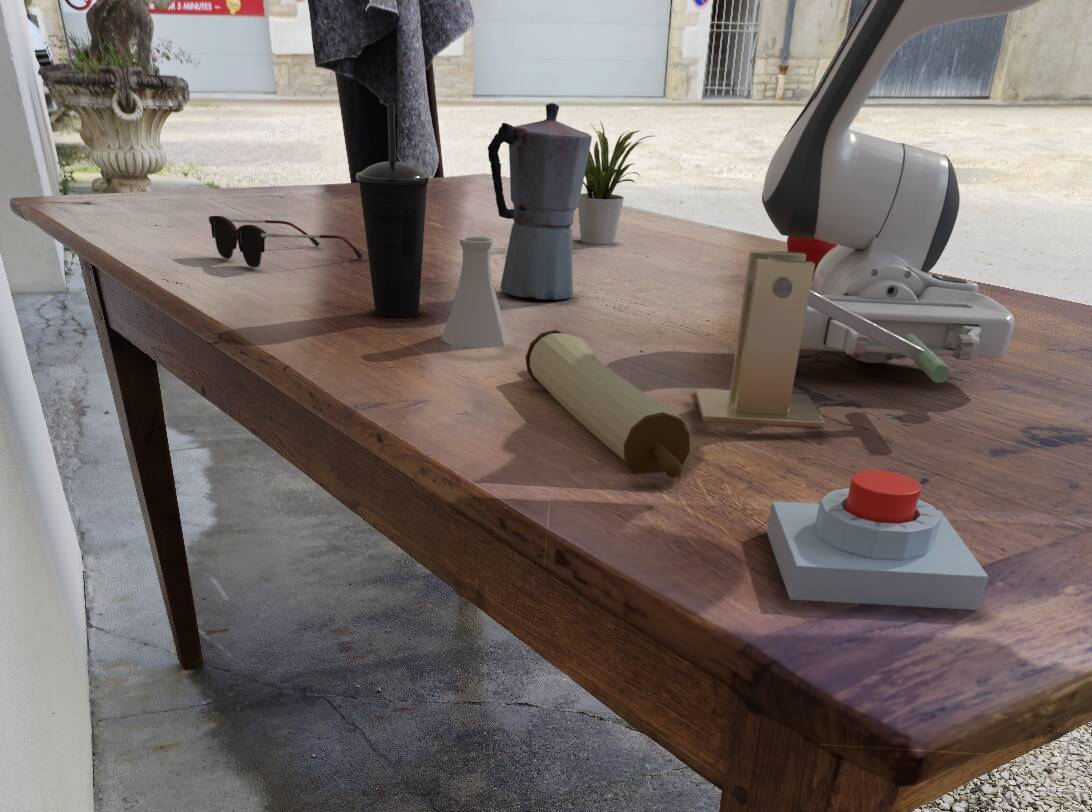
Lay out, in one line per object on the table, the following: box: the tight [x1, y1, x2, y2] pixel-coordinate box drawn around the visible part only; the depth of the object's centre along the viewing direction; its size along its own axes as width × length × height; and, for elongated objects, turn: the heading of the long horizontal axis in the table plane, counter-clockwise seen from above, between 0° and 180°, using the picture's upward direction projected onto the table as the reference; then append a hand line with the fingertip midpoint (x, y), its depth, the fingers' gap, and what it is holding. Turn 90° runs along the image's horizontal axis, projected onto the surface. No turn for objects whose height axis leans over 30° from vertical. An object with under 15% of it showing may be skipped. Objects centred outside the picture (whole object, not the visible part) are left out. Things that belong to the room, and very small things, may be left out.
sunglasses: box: [207, 215, 363, 269], centre depth 140 cm, size 14×16×5 cm
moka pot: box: [487, 102, 593, 301], centre depth 121 cm, size 10×15×20 cm, turn 136°
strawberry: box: [786, 236, 838, 282], centre depth 135 cm, size 6×8×10 cm
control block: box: [766, 487, 989, 611], centre depth 64 cm, size 11×10×4 cm
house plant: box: [577, 120, 654, 245], centre depth 157 cm, size 14×14×16 cm
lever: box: [767, 256, 951, 384], centre depth 85 cm, size 16×10×2 cm, turn 87°
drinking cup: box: [355, 102, 431, 319], centre depth 111 cm, size 8×8×20 cm
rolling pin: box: [524, 329, 693, 479], centre depth 84 cm, size 32×6×5 cm, turn 16°
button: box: [845, 470, 922, 524], centre depth 62 cm, size 4×4×2 cm
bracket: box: [694, 249, 826, 429], centre depth 86 cm, size 10×8×13 cm
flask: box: [441, 235, 510, 349], centre depth 103 cm, size 7×7×10 cm
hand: (914, 347), depth 89 cm, fingers open, 8 cm apart
